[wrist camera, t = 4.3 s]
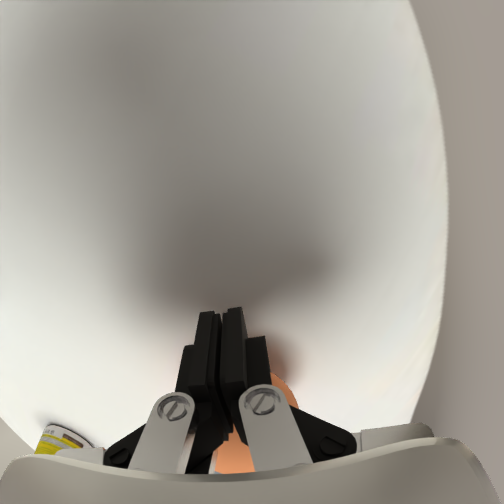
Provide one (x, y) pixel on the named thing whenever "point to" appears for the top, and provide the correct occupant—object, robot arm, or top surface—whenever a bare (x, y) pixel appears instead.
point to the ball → (237, 453)
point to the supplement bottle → (59, 440)
